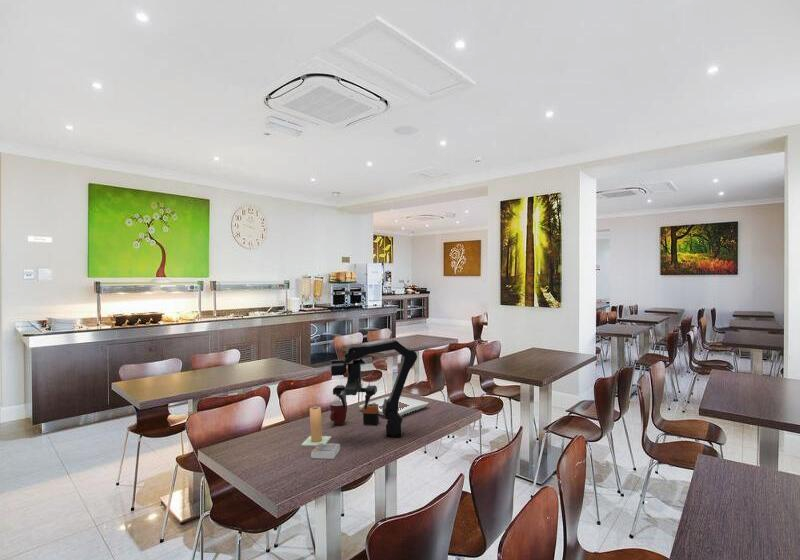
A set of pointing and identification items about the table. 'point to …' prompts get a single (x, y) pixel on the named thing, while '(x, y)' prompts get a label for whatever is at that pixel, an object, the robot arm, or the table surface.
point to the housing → (325, 451)
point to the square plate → (412, 403)
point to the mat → (309, 443)
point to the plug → (315, 424)
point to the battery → (371, 414)
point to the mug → (338, 412)
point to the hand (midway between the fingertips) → (355, 409)
